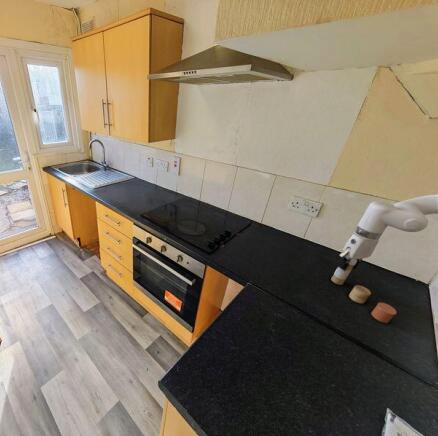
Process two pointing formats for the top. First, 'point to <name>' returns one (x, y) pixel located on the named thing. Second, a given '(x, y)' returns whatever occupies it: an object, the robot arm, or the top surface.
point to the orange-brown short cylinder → (383, 312)
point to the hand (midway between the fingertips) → (346, 267)
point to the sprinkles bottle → (343, 272)
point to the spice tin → (359, 294)
